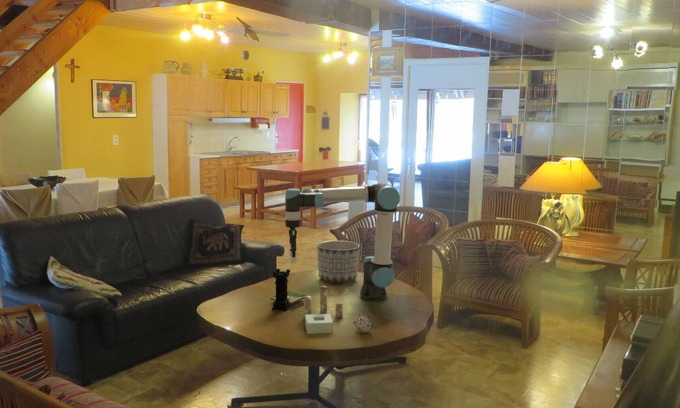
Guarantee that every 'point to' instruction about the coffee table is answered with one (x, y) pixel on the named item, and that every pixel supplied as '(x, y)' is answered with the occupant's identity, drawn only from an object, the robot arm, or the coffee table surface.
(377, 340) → the coffee table surface
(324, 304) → the pin long
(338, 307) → the pin short
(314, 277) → the coffee table surface
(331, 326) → the collar block
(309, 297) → the pin medium
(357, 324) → the spiky lattice ball
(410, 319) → the coffee table surface
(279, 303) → the chess piece
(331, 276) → the planter
